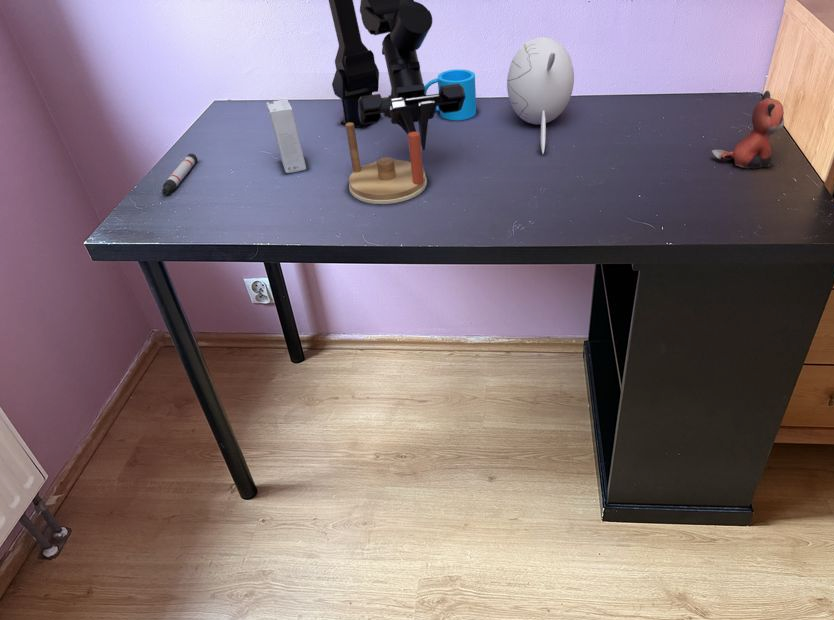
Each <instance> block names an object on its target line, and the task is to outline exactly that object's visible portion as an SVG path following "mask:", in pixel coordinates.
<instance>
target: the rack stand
mask: <svg viewBox="0 0 834 620" xmlns="http://www.w3.org/2000/svg"><path fill="white" fill-rule="evenodd" d="M427 180H428V179H427V176H426V175H425V183H424V185H423V186H422V187H421V188H420V189H419V190H417V191H416V192H414V193H412V194H409V195H407V196H404V197H400V198H394V199H385V200H378V199H369V198H364V197H361V196H359V195H357V194H355V193H354V192H353V191H352V190H351V188H350V183H348V189H349V193H350V194H351V195H352V197H353V198H355V199H356V200H358V201H361V202H363V203H368V204H373V205H391V204H398V203H403V202H405V201H409V200H411V199H413V198H415V197H417V196H419V195H420V194H421V193H423V192H424V191H425V189H426V187H427V185H428V181H427Z"/></svg>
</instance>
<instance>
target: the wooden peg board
mask: <svg viewBox="0 0 834 620" xmlns="http://www.w3.org/2000/svg"><path fill="white" fill-rule="evenodd" d="M355 128H356V127H355V126H354V123H347V124H346V125H345V130H346V137H347V144H348V149H349V155H350V161H351V167H352V173H351V174H350V176H349V179H348V182H349V183H350V188H351V190H352V191H353V192H354V193H355V194H357V195H359V196H361V197H364V198H369V199H378V200H385V199H394V198H400V197H404V196H407V195H409V194H412V193H414V192H416V191H417V190H419V189H420V188H421V187H422V186H423V185H424V183H425V176H426V172H425V170H424V167H423V157H422V147H421V142H420V132H419V131H416V132H410V133H408V135H407V138H408V149H409V158H410V159H409V160H410V161H408V160H402V159H394V158H392V157H381V158H378V159H377V160H376V161H374V162H371V163H367V164H364V165H362V166H361V161H360V154H359V147H358V142H357V135H356V129H355ZM349 183H348V184H349Z"/></svg>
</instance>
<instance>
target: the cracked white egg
mask: <svg viewBox="0 0 834 620" xmlns="http://www.w3.org/2000/svg"><path fill="white" fill-rule="evenodd" d="M574 70H575V69H574V65H573V62H572V59H571V56H570V54H569V52H568V51H567V49H566V48H565V47H564V45H563V44H561V43H560V42H559V41H557V40H556V39H554V38H551V37H547V36H546V37H545V36H539V37H535V38H532V39H530V40H528V41H527V42H525V43H524V44H523V45H521V46H520V47H519V49H518V50H517V52H516V53H515V54H514V56H513V58H512V60H511V62H510V65H509V68H508V72H507V78H506V91H507V97H508V100H509V103H510V105H511V107H512V110H513V111H514V112H515V114H516V115H517V116H518V117H519V118H520V119H521V120H523V121H524V122H526V123H528V124H532V125H540V149H541V150H540V151H541V153H542V155H544V154H545V149H546V143H547V142H546V139H547V127H546V126H547V124H548V123H550V122H552V121H553V120H555V119H557V118H558V117H559V116H560V115H561V114H562V113H563V112H564V110H565V109H566V107H567V106H568V104H569V102H570V100H571V97H572V94H573V90H574V85H575V71H574Z"/></svg>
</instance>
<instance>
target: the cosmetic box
mask: <svg viewBox="0 0 834 620" xmlns="http://www.w3.org/2000/svg"><path fill="white" fill-rule="evenodd" d="M266 107H267V112H268V115H269V119H270V123H271V126H272V130H273V134H274V137H275V141H276V144H277V149H278V152H279V153H278V154H279V156H280V160H281V163H282V166H283V169H284V172H285V174H293V173H298V172H303V171H306V170H307V165H306V160H305V157H304V153H303V148H302V143H301V140H300V135H299V131H298V127H297V124H296V120H295V115H294V109H293V108H292V106H291V104H290V102H289V100H288V98H283V99H278V100H273V101H268V102H266Z"/></svg>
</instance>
